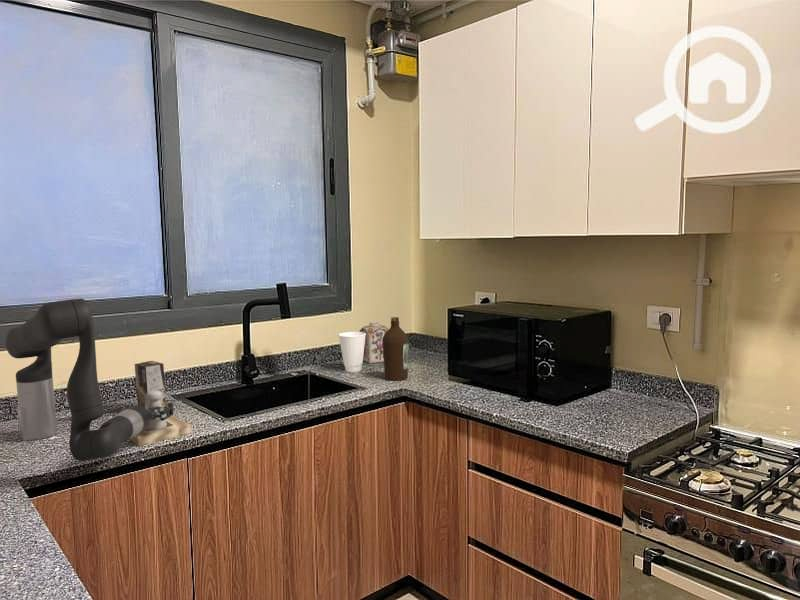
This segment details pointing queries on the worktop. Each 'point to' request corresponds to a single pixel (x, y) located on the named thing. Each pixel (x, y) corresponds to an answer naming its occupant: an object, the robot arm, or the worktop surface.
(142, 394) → the coffee box
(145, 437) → the bore housing
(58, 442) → the worktop surface
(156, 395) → the salt shaker
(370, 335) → the decorative jar
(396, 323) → the olive oil
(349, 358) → the cup
